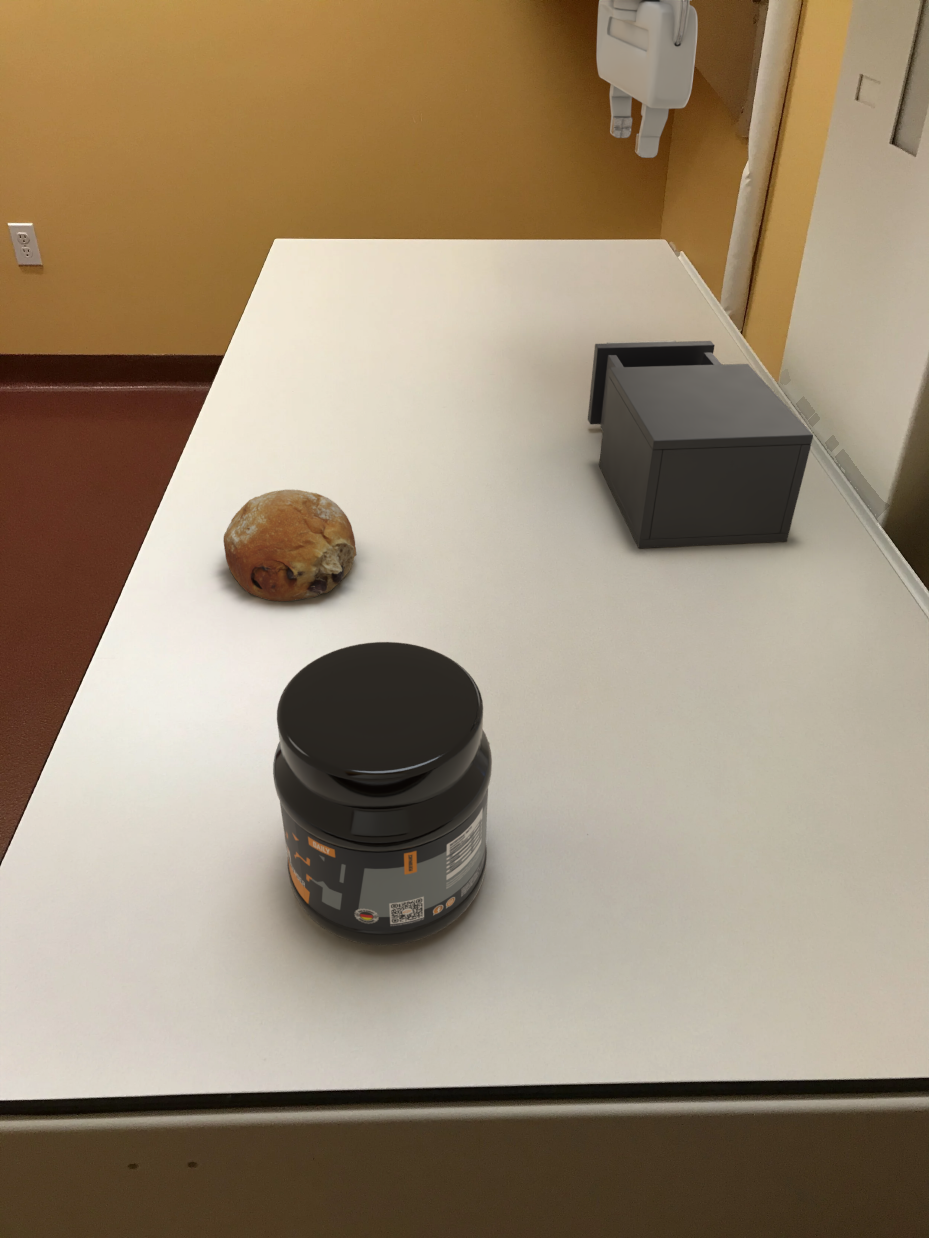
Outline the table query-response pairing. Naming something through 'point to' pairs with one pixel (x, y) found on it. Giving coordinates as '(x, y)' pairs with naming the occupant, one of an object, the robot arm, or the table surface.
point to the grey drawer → (640, 364)
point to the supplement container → (383, 791)
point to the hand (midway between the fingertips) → (632, 146)
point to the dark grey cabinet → (701, 455)
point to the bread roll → (289, 545)
